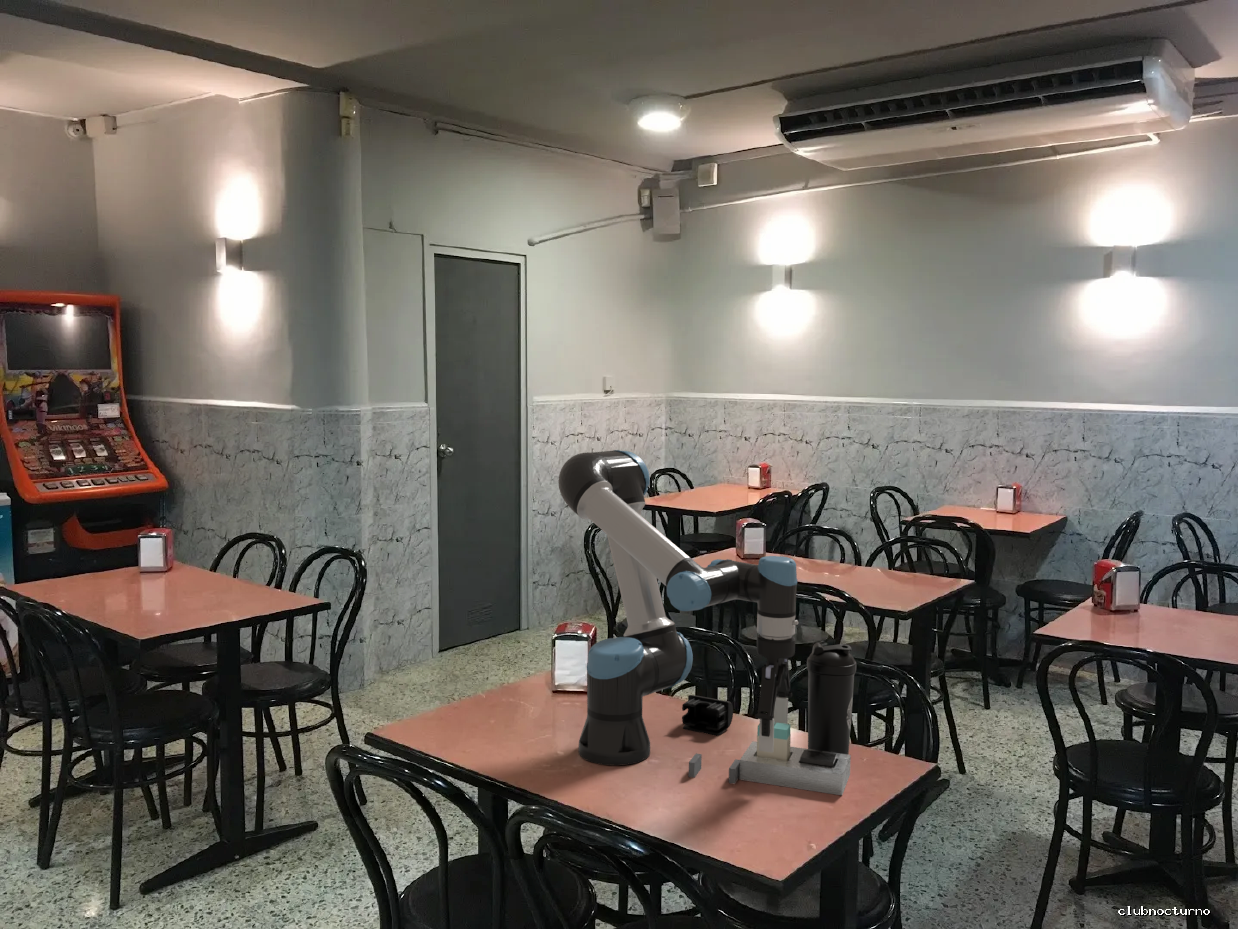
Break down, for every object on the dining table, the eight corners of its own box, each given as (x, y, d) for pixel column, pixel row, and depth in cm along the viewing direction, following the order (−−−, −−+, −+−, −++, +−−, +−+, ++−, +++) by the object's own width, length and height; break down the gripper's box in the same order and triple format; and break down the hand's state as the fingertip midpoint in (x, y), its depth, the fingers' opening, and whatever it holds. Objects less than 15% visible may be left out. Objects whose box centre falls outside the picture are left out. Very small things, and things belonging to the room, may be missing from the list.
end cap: (733, 727, 224) (733, 698, 224) (720, 737, 218) (721, 707, 218) (693, 719, 229) (693, 691, 229) (680, 729, 223) (680, 699, 222)
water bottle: (855, 762, 204) (860, 652, 202) (805, 759, 205) (809, 650, 203) (849, 745, 214) (853, 641, 212) (801, 742, 215) (805, 638, 213)
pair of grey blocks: (688, 776, 196) (688, 762, 195) (695, 767, 200) (695, 753, 200) (734, 784, 192) (735, 769, 192) (740, 774, 197) (741, 760, 197)
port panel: (739, 779, 194) (739, 755, 194) (752, 760, 205) (752, 736, 204) (842, 795, 187) (842, 770, 187) (850, 774, 198) (850, 750, 197)
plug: (756, 774, 197) (757, 726, 196) (760, 768, 200) (761, 720, 200) (786, 779, 195) (787, 730, 194) (789, 773, 198) (790, 724, 197)
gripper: (782, 653, 182) (779, 764, 184) (806, 622, 206) (803, 722, 207) (742, 648, 185) (740, 758, 187) (770, 619, 208) (768, 717, 210)
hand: (773, 739), depth 197 cm, fingers open, 13 cm apart
